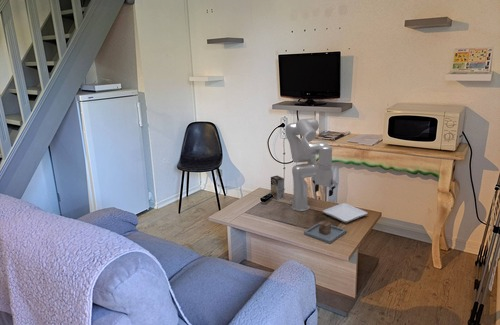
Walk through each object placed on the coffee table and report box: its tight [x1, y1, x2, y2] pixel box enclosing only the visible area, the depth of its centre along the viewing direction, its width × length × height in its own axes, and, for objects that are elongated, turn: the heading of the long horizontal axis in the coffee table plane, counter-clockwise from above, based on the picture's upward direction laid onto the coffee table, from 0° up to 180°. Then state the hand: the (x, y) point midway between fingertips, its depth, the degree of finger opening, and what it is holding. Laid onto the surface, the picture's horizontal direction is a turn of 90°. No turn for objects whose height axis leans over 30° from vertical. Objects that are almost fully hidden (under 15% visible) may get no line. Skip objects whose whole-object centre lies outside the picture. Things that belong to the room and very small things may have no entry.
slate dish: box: [303, 221, 347, 245], centre depth 214 cm, size 18×18×2 cm
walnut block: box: [318, 220, 332, 235], centre depth 214 cm, size 5×5×6 cm
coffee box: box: [270, 175, 285, 201], centre depth 271 cm, size 9×6×16 cm
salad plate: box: [322, 202, 368, 223], centre depth 238 cm, size 21×21×3 cm
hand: (323, 193), depth 215 cm, fingers open, 9 cm apart
